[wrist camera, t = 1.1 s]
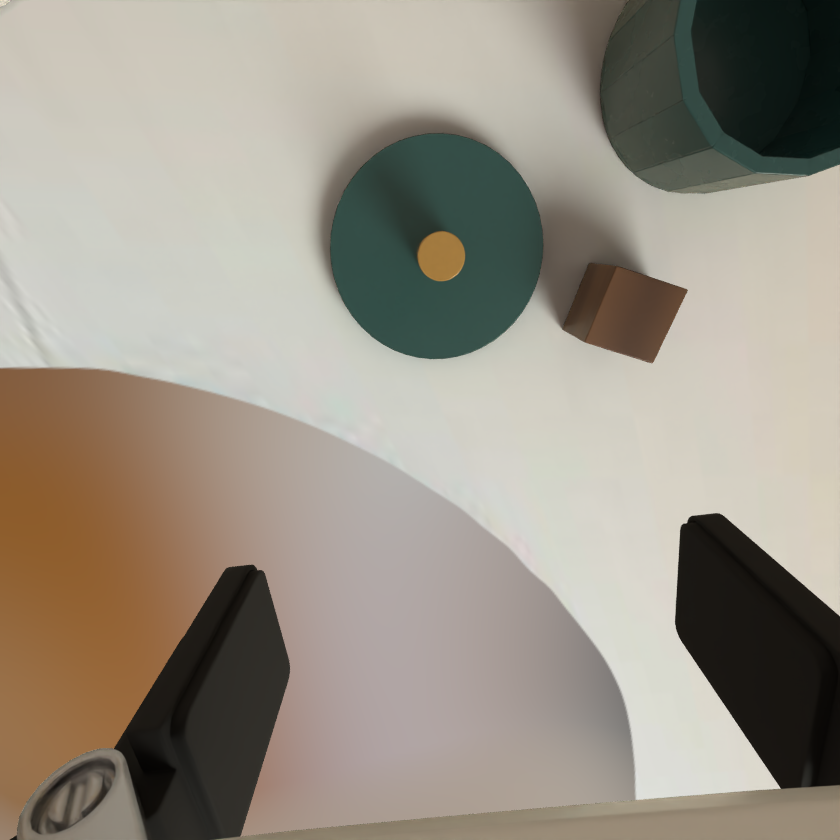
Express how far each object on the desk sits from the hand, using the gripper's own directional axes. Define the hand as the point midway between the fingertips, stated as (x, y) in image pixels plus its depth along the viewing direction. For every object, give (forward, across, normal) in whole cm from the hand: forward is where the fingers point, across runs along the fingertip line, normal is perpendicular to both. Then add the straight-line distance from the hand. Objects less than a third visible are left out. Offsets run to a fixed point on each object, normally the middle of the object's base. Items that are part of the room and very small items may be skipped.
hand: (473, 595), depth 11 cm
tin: (+27, -19, -16) cm, 37 cm away
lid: (+27, -1, -7) cm, 28 cm away
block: (+28, -13, -2) cm, 30 cm away
